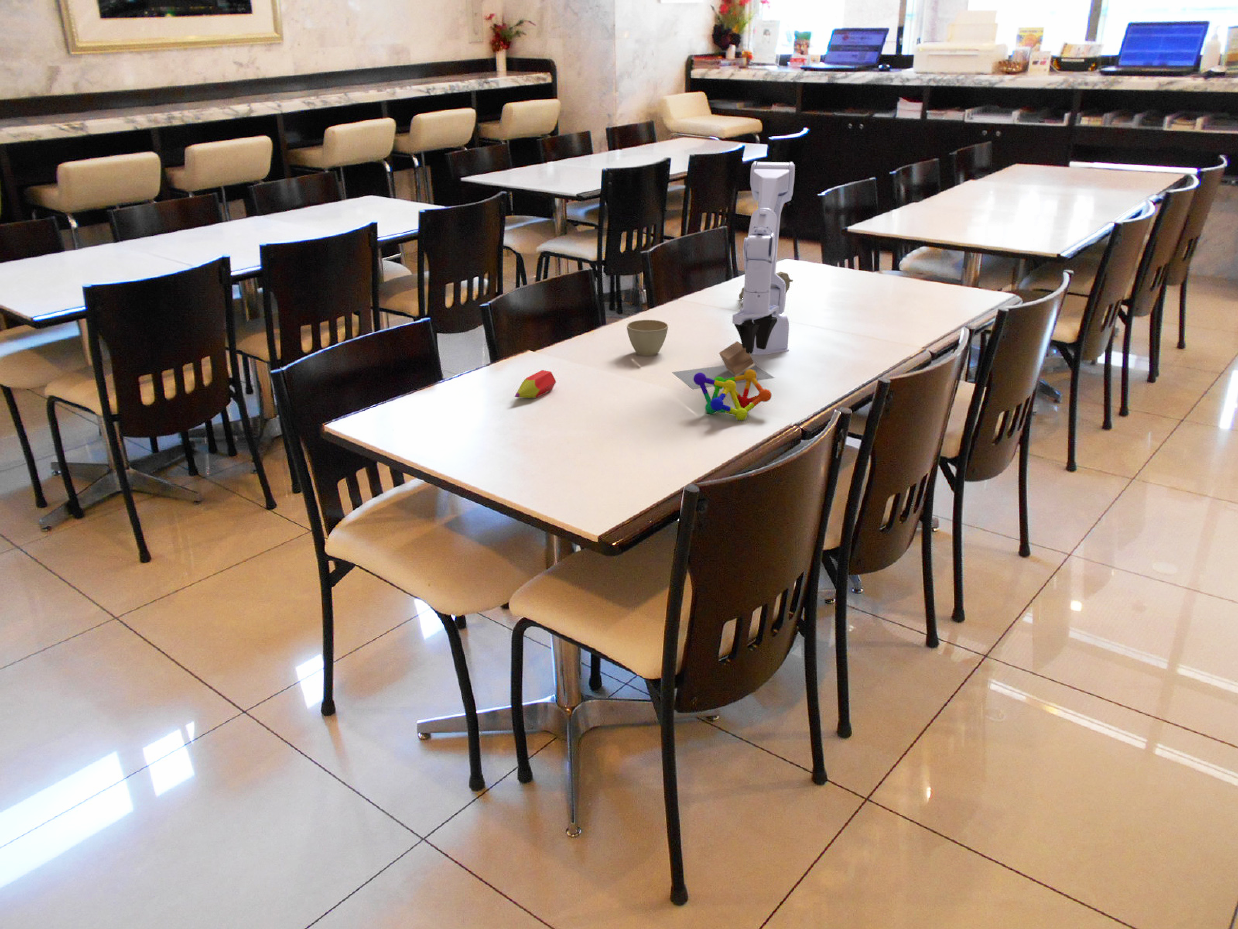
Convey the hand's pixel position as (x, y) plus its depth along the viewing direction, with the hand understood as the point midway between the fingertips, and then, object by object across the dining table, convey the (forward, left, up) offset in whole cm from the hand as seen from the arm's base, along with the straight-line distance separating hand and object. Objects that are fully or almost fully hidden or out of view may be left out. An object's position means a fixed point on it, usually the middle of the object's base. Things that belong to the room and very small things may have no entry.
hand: (754, 350), depth 212 cm
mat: (+7, -1, -6) cm, 9 cm away
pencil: (+51, -5, -6) cm, 51 cm away
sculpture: (-26, -47, -6) cm, 54 cm away
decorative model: (+15, +20, -6) cm, 25 cm away
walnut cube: (+2, -1, -4) cm, 5 cm away
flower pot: (+17, -23, -6) cm, 30 cm away
